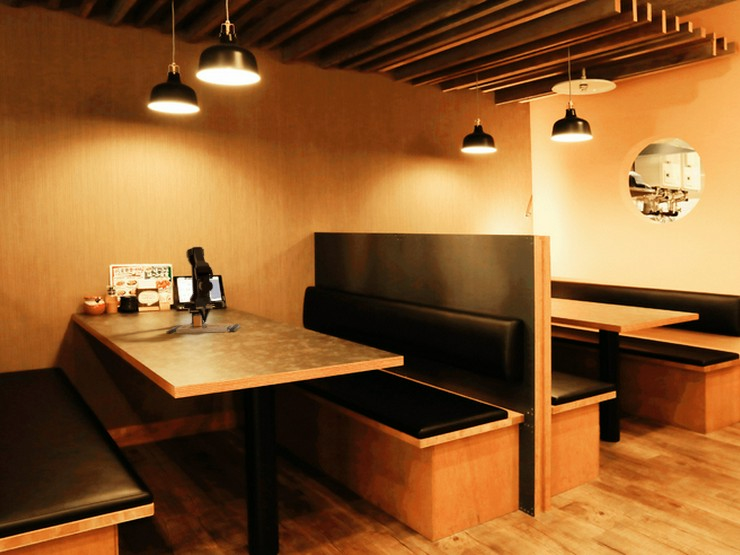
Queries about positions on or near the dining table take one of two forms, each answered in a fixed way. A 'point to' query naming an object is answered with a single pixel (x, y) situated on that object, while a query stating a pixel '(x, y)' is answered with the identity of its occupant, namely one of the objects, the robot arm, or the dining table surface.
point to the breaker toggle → (197, 320)
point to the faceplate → (204, 328)
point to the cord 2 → (235, 328)
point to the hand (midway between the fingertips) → (204, 322)
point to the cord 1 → (173, 329)
